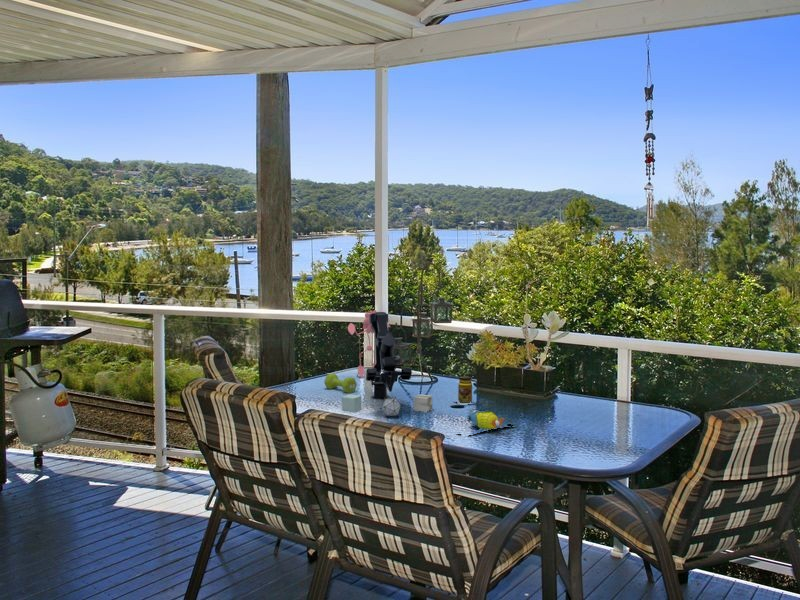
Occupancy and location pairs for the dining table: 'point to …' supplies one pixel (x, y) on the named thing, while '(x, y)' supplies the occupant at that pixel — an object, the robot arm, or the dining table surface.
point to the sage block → (351, 403)
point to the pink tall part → (368, 325)
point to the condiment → (465, 389)
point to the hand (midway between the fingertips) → (390, 391)
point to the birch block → (423, 403)
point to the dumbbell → (340, 383)
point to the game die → (391, 407)
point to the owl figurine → (484, 419)
